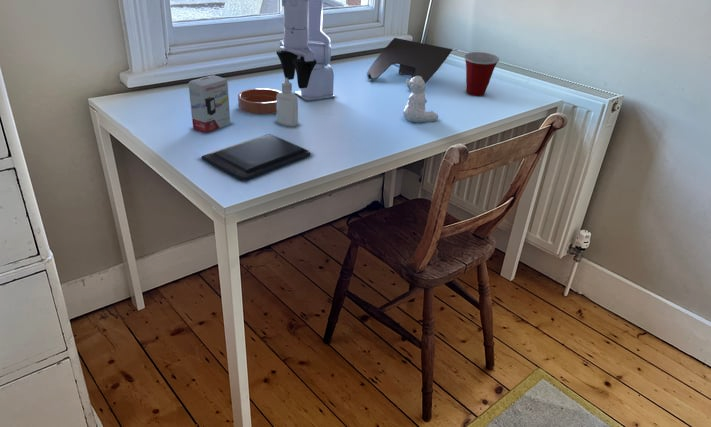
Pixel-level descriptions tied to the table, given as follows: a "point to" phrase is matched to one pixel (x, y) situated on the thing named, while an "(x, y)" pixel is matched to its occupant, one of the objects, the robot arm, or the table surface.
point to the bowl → (258, 101)
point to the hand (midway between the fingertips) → (296, 83)
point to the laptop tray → (410, 59)
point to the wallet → (256, 156)
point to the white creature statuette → (417, 102)
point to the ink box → (209, 103)
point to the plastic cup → (479, 71)
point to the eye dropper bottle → (287, 105)
